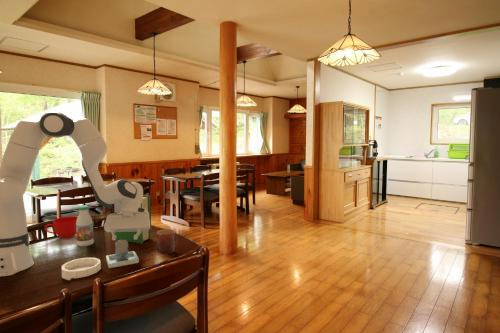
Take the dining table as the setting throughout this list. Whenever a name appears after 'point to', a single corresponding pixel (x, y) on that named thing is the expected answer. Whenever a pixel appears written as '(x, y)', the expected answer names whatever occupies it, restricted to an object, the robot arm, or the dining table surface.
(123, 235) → the hardback book
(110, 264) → the parts tray
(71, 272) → the bowl
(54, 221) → the ceramic cup
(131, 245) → the dining table surface
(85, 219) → the milk bottle
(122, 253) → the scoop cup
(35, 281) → the dining table surface
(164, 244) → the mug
